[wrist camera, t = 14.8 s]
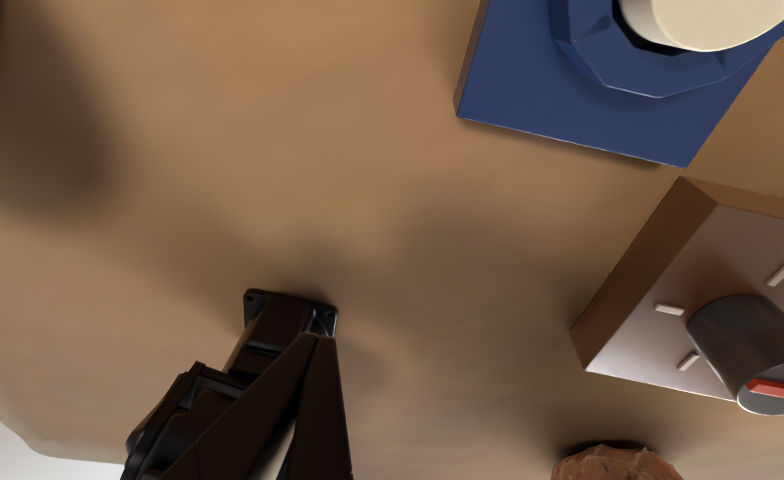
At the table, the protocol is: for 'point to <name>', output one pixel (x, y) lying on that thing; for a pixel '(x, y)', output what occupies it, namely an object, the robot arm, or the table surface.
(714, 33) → the cap
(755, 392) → the dial
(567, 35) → the button housing
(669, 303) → the dial panel
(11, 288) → the table surface
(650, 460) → the decorative rock
